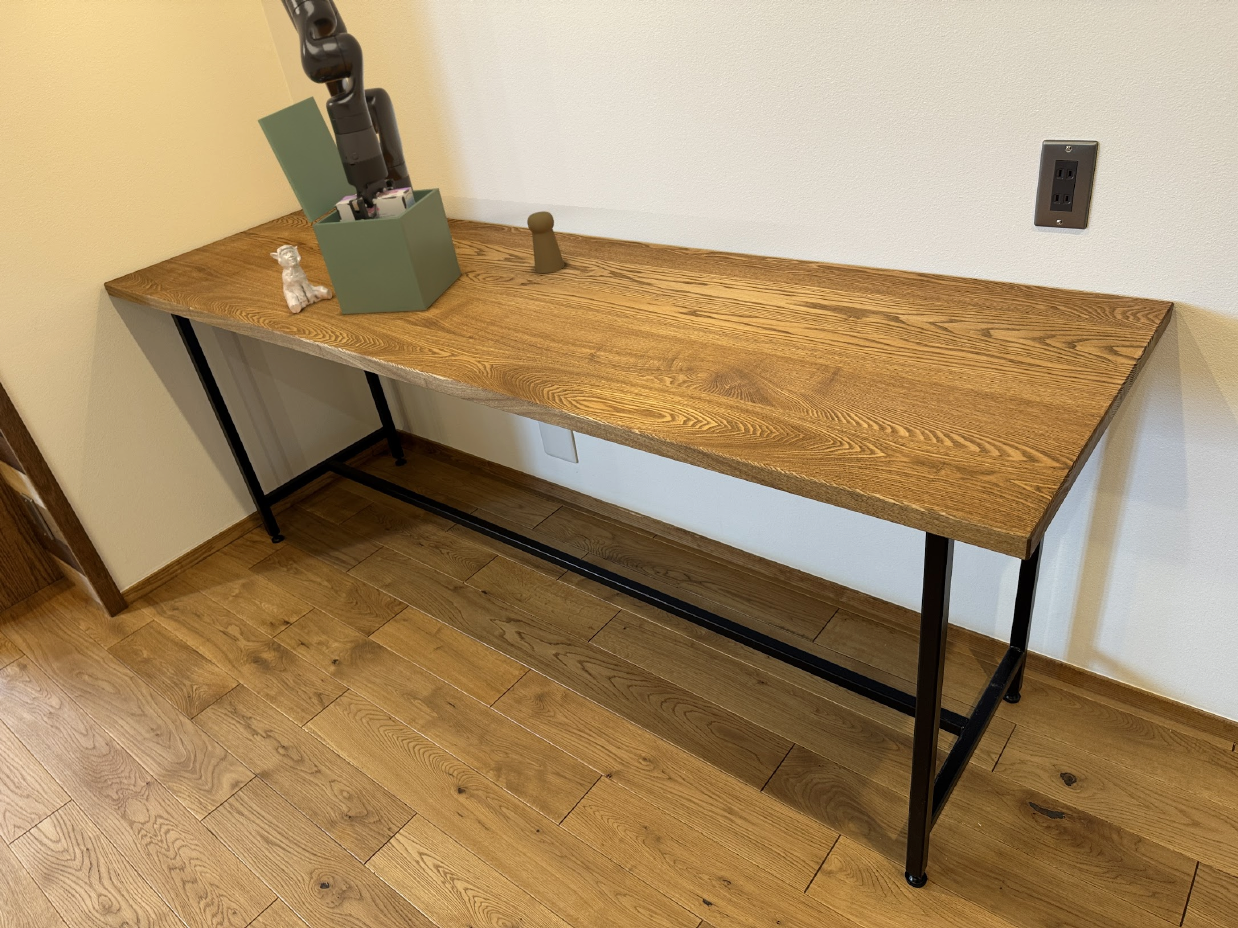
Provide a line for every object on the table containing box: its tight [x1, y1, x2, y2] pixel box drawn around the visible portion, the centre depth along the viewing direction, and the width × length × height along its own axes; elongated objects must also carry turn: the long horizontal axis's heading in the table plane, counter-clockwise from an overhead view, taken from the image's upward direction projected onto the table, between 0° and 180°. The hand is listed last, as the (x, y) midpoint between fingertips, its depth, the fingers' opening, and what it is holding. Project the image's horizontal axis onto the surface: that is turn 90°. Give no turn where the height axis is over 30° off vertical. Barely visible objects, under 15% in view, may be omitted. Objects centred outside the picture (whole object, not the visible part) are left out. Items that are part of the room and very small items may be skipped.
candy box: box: [335, 187, 415, 222], centre depth 172 cm, size 14×6×16 cm, turn 84°
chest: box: [311, 187, 462, 315], centre depth 173 cm, size 18×18×18 cm
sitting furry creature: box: [269, 244, 333, 314], centre depth 180 cm, size 10×9×12 cm
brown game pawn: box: [526, 210, 565, 274], centre depth 175 cm, size 6×6×11 cm
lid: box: [257, 95, 357, 224], centre depth 167 cm, size 19×18×5 cm
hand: (387, 242), depth 172 cm, fingers closed on candy box, 6 cm apart
